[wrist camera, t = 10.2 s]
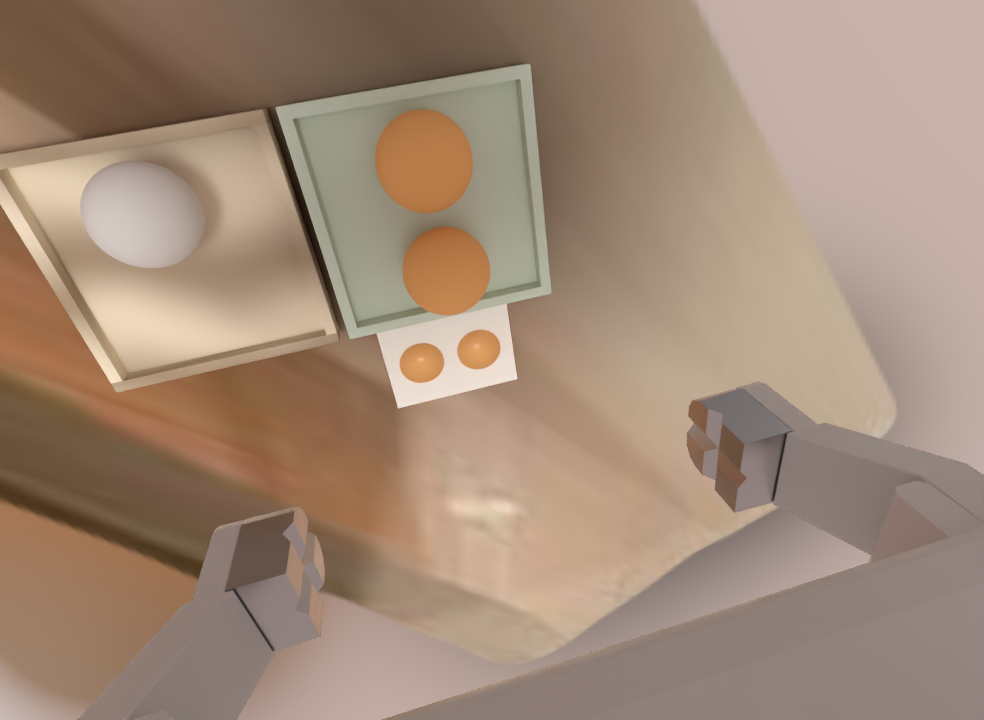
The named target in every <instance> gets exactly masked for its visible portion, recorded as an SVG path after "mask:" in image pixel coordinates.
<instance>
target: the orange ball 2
mask: <svg viewBox="0 0 984 720" xmlns="http://www.w3.org/2000/svg"><path fill="white" fill-rule="evenodd" d="M402 271H403V280H404V284H405V287H406V289H407V291H408V293H409V295H410V296H411V298H412V299H413V300H414V301H415V302H416V303H417V304H418V305H419V306H420V307H422V308H423V309H425V310H427V311H429V312H431V313H434V314H438V315H456V314H459V313H462V312H465V311H467V310H469V309H470V308H472V307H473V306H474V305H476V304H477V303H478V302H479V300H480V299H481V298H482V297H483V295H484V293H485V291H486V289H487V287H488V283H489V279H490V264H489V260H488V257H487V254H486V252H485V250H484V248H483V247H482V245H481V244H480V243H479V242H478V240H477V239H476V238H474V237H473V236H472V235H470V234H469V233H467V232H466V231H463V230H461V229H458V228H453V227H438V228H434V229H430V230H428V231H426V232H424V233H423V234H421V235H420V236H418V237H417V238H416V239H415V240H414V241H413V242H412V244H411V245H410V246H409V248H408V250H407V252H406V254H405V257H404V261H403V268H402Z"/></svg>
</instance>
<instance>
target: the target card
mask: <svg viewBox="0 0 984 720" xmlns="http://www.w3.org/2000/svg"><path fill="white" fill-rule="evenodd" d="M377 337H378V340H379V344H380V347H381V351H382V354H383V358H384V361H385V364H386V368H387V371H388V375H389V378H390V382H391V385H392V389H393V392H394V396H395V399H396V402H397V406H398V408H402V407H406V406H410V405H414V404H418V403H422V402H426V401H430V400H434V399H438V398H442V397H446V396H450V395H454V394H459V393H463V392H467V391H471V390H475V389H479V388H483V387H487V386H491V385H495V384H499V383H503V382H507V381H511V380H515V379H517V374H516V367H515V359H514V352H513V345H512V338H511V331H510V324H509V317H508V310H507V304H503V305H499V306H495V307H490V308H486V309H481V310H477V311H473V312H468V313H464V314H459V315H455V316H451V317H446V318H442V319H437V320H433V321H429V322H424V323H420V324H415V325H411V326H407V327H402V328H398V329H393V330H389V331H385V332H380V333H377Z"/></svg>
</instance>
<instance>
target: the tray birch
mask: <svg viewBox="0 0 984 720" xmlns="http://www.w3.org/2000/svg"><path fill="white" fill-rule="evenodd" d="M123 161H143V162H149V163H153V164H157V165H159V166H162V167H164V168H166V169H168V170H170V171H172V172H174V173H175V174H177V175H178V176H179V177H181V178H182V179H183V180H184V181H185V182H186V183H187V184H188V185H189V186H190V187H191V188H192V189H193V191H194V192H195V194H196V195H197V197H198V199H199V201H200V203H201V205H202V208H203V212H204V217H205V226H204V233H203V237H202V239H201V241H200V243H199V245H198V246H197V248H196V249H195V250H194V252H193V253H192V254H191V255H189V256H188V257H187V258H186V259H184V260H182V261H181V262H179V263H176V264H174V265H171V266H167V267H162V268H140V267H135V266H132V265H128V264H125V263H123V262H121V261H118V260H117V259H115V258H113V257H111V256H110V255H108V254H107V253H105V252H104V251H103V250H102V249H100V248H99V247H98V246H97V245H96V243H95V242H94V241H93V240H92V239H91V237H90V236H89V234H88V232H87V230H86V228H85V226H84V224H83V221H82V218H81V212H80V203H81V196H82V193H83V190H84V188H85V186H86V184H87V183H88V181H89V180H90V179H91V178H92V176H93V175H95V174H96V173H97V172H98V171H100V170H101V169H103V168H105V167H106V166H109V165H111V164H114V163H118V162H123ZM0 205H1V206H2V208H3V209H4V211H5V213H6V214H7V216H8V218H9V219H10V221H11V222H12V224H13V226H14V227H15V229H16V230H17V232H18V234H19V235H20V237H21V239H22V240H23V242H24V243H25V245H26V247H27V248H28V250H29V251H30V253H31V255H32V256H33V258H34V260H35V261H36V263H37V264H38V266H39V268H40V269H41V271H42V272H43V274H44V276H45V277H46V279H47V281H48V282H49V284H50V285H51V287H52V289H53V290H54V292H55V294H56V295H57V297H58V298H59V300H60V302H61V303H62V305H63V306H64V308H65V310H66V311H67V313H68V315H69V316H70V318H71V319H72V321H73V323H74V324H75V326H76V327H77V329H78V331H79V332H80V334H81V336H82V337H83V339H84V340H85V342H86V344H87V345H88V347H89V348H90V350H91V352H92V353H93V355H94V357H95V358H96V360H97V361H98V363H99V365H100V366H101V368H102V369H103V371H104V373H105V374H106V376H107V378H108V379H109V381H110V382H111V384H112V386H113V387H114V389H115V391H116V392H121V391H125V390H130V389H134V388H138V387H143V386H147V385H152V384H156V383H160V382H165V381H169V380H174V379H178V378H182V377H187V376H191V375H196V374H200V373H204V372H209V371H213V370H218V369H222V368H226V367H231V366H235V365H240V364H244V363H248V362H253V361H257V360H262V359H266V358H270V357H275V356H279V355H284V354H288V353H292V352H297V351H301V350H306V349H310V348H314V347H319V346H323V345H328V344H332V343H336V342H340V328H339V325H338V322H337V319H336V316H335V313H334V310H333V307H332V304H331V301H330V298H329V295H328V292H327V289H326V286H325V283H324V280H323V277H322V274H321V271H320V268H319V265H318V262H317V258H316V255H315V252H314V249H313V246H312V243H311V240H310V237H309V234H308V231H307V228H306V225H305V222H304V219H303V216H302V213H301V210H300V207H299V204H298V201H297V198H296V195H295V192H294V189H293V186H292V182H291V179H290V176H289V173H288V170H287V167H286V164H285V161H284V158H283V155H282V152H281V149H280V146H279V143H278V140H277V137H276V134H275V131H274V128H273V125H272V122H271V119H270V116H269V113H268V110H267V108H263V109H257V110H251V111H245V112H239V113H234V114H228V115H222V116H216V117H210V118H204V119H199V120H193V121H187V122H181V123H175V124H169V125H164V126H158V127H152V128H146V129H140V130H134V131H129V132H123V133H117V134H111V135H105V136H99V137H94V138H88V139H82V140H76V141H70V142H64V143H59V144H53V145H47V146H41V147H35V148H29V149H24V150H18V151H12V152H6V153H0Z"/></svg>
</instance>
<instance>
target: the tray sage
mask: <svg viewBox="0 0 984 720" xmlns="http://www.w3.org/2000/svg"><path fill="white" fill-rule="evenodd" d="M275 108H276V111H277V114H278V117H279V121H280V124H281V127H282V130H283V133H284V136H285V139H286V142H287V145H288V149H289V152H290V155H291V158H292V161H293V164H294V167H295V170H296V173H297V177H298V180H299V183H300V186H301V189H302V192H303V195H304V198H305V201H306V205H307V208H308V211H309V214H310V217H311V220H312V223H313V226H314V229H315V233H316V236H317V239H318V242H319V245H320V248H321V251H322V254H323V257H324V261H325V264H326V267H327V270H328V273H329V276H330V279H331V282H332V285H333V289H334V292H335V295H336V298H337V301H338V304H339V307H340V310H341V313H342V317H343V320H344V323H345V326H346V329H347V332H348V335H349V338H350V339H354V338H358V337H363V336H367V335H372V334H376V333H380V332H385V331H389V330H393V329H398V328H402V327H407V326H411V325H415V324H420V323H424V322H429V321H433V320H437V319H442V318H446V317H451V316H455V315H438V314H434V313H431V312H429V311H427V310H425V309H423V308H422V307H420V306H419V305H418V304H417V303H416V302H415V301H414V300H413V299H412V298H411V296H410V295H409V293H408V291H407V289H406V287H405V284H404V280H403V271H402V268H403V261H404V257H405V254H406V252H407V250H408V248H409V246H410V245H411V244H412V242H413V241H414V240H415V239H416V238H417V237H418V236H420V235H421V234H423V233H424V232H426V231H428V230H430V229H434V228H438V227H453V228H458V229H461V230H463V231H466V232H467V233H469V234H470V235H472V236H473V237H474V238H476V239H477V240H478V242H479V243H480V244H481V245H482V247H483V248H484V250H485V252H486V254H487V257H488V260H489V264H490V279H489V283H488V287H487V289H486V291H485V293H484V295H483V297H482V298H481V299H480V300H479V302H478V303H477V304H476V305H474V306H473V307H472V308H470V309H469V310H467V311H465V312H462V313H459V314H464V313H468V312H473V311H477V310H481V309H486V308H490V307H495V306H499V305H503V304H508V303H512V302H517V301H521V300H525V299H530V298H534V297H539V296H543V295H547V294H551V283H550V272H549V261H548V250H547V239H546V228H545V217H544V206H543V195H542V184H541V174H540V163H539V152H538V141H537V130H536V119H535V108H534V97H533V86H532V75H531V64H519V65H513V66H508V67H502V68H496V69H490V70H484V71H478V72H473V73H467V74H461V75H455V76H449V77H443V78H438V79H432V80H426V81H420V82H414V83H408V84H403V85H397V86H391V87H385V88H379V89H373V90H368V91H362V92H356V93H350V94H344V95H338V96H333V97H327V98H321V99H315V100H309V101H303V102H298V103H292V104H286V105H280V106H277V107H275ZM417 109H428V110H433V111H436V112H439V113H442V114H444V115H446V116H447V117H449V118H450V119H452V120H453V121H454V122H455V123H456V124H457V125H458V126H459V127H460V128H461V129H462V131H463V132H464V134H465V135H466V137H467V139H468V141H469V144H470V147H471V150H472V155H473V171H472V177H471V180H470V183H469V185H468V187H467V189H466V191H465V193H464V194H463V195H462V197H461V198H460V199H459V200H458V201H457V202H456V203H454V204H453V205H452V206H450V207H448V208H447V209H444V210H442V211H439V212H434V213H419V212H414V211H411V210H408V209H406V208H404V207H402V206H400V205H399V204H397V203H396V202H395V201H394V200H393V199H392V198H391V197H389V195H388V194H387V193H386V191H385V190H384V188H383V187H382V185H381V183H380V181H379V178H378V175H377V172H376V167H375V151H376V146H377V143H378V140H379V137H380V135H381V133H382V131H383V130H384V129H385V127H386V126H387V125H388V124H389V123H390V122H391V121H392V120H393V119H394V118H395V117H397V116H399V115H400V114H402V113H405V112H407V111H411V110H417ZM459 314H456V315H459Z"/></svg>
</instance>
